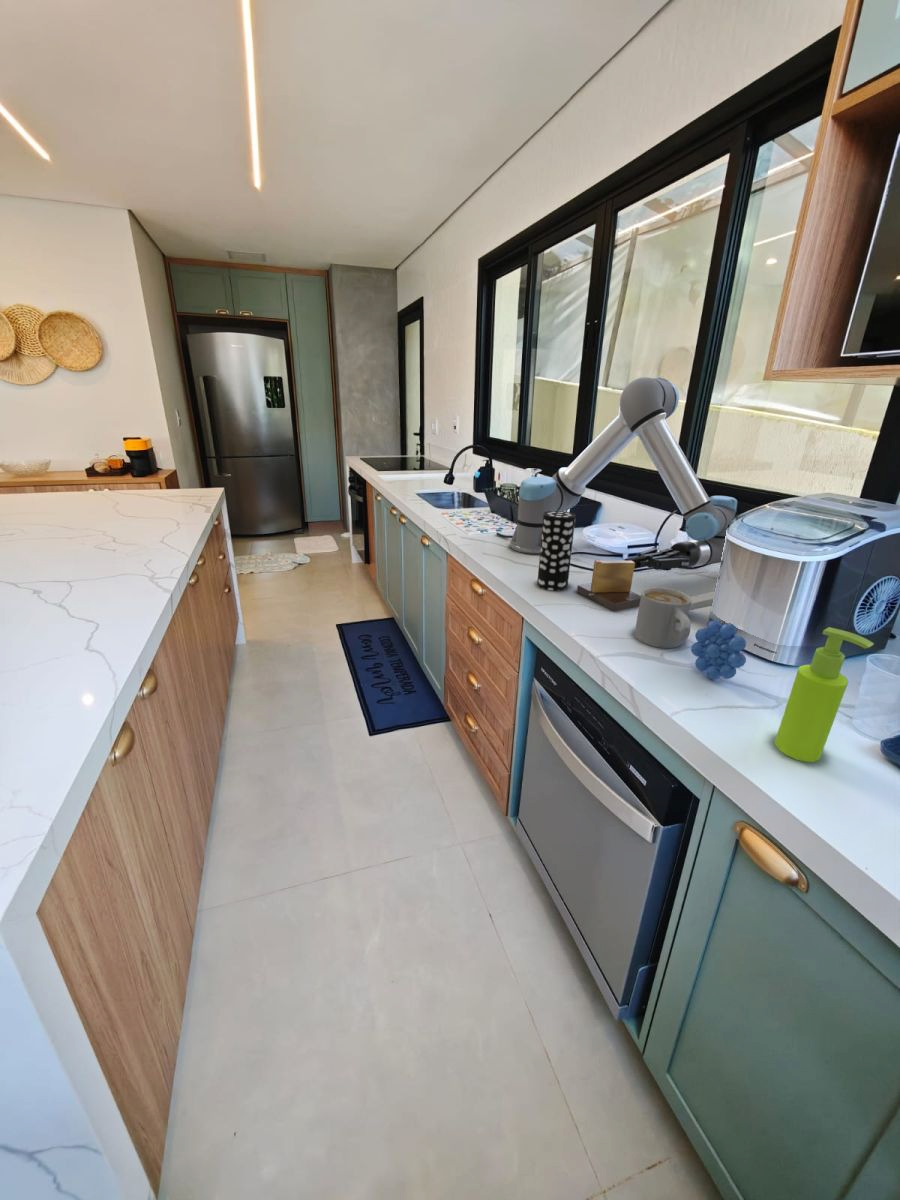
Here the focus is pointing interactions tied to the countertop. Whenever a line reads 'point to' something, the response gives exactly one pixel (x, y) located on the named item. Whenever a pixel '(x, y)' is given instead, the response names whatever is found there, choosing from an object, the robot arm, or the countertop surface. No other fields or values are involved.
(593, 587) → the golden brown rectangular block
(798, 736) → the soap dispenser
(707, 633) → the blue bumpy cluster
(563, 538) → the white-spotted black cylinder
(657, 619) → the coffee mug
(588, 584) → the dark brown flat slab
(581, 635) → the countertop surface
